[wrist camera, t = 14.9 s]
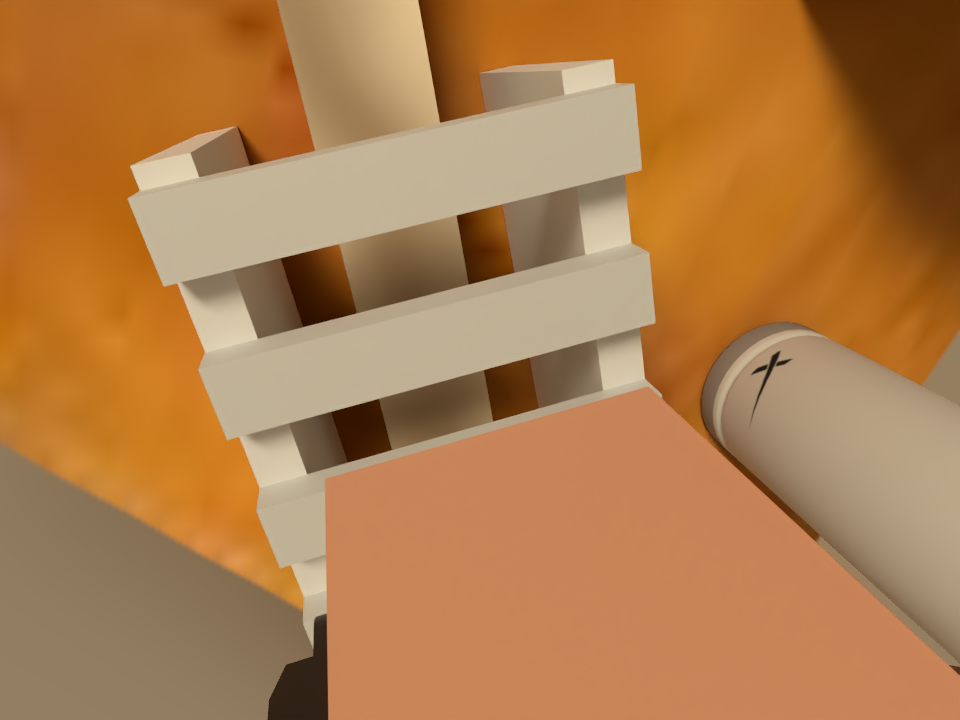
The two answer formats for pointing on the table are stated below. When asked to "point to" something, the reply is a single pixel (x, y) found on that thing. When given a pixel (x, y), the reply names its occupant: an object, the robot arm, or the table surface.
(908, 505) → the travel mug
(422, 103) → the rod
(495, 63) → the table surface
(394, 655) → the block
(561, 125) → the tunnel
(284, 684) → the robot arm
